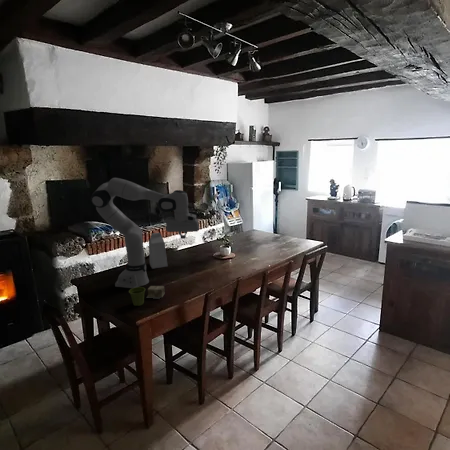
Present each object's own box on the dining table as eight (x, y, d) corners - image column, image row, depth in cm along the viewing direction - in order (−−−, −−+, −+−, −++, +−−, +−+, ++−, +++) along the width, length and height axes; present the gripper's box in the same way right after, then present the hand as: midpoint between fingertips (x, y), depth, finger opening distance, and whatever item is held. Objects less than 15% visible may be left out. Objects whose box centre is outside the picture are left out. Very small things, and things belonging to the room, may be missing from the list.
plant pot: (136, 309, 187) (134, 295, 185) (127, 304, 193) (125, 290, 191) (149, 303, 194) (148, 289, 192) (140, 298, 200) (139, 285, 198)
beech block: (162, 297, 201) (148, 296, 202) (164, 293, 206) (151, 293, 207) (161, 289, 200) (147, 289, 201) (164, 286, 204) (150, 285, 205)
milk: (152, 268, 249) (149, 235, 243) (149, 264, 260) (146, 232, 254) (167, 266, 254) (165, 233, 248) (164, 261, 264) (162, 230, 258)
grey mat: (145, 298, 200) (145, 298, 200) (149, 292, 208) (149, 292, 208) (160, 298, 199) (160, 298, 199) (163, 292, 207) (163, 292, 207)
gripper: (163, 218, 198) (165, 239, 202) (197, 217, 197) (198, 239, 200) (166, 215, 204) (168, 237, 208) (198, 215, 203) (199, 236, 206)
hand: (183, 238), depth 204 cm, fingers closed
